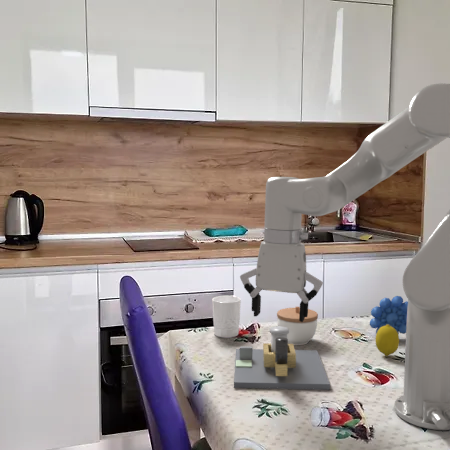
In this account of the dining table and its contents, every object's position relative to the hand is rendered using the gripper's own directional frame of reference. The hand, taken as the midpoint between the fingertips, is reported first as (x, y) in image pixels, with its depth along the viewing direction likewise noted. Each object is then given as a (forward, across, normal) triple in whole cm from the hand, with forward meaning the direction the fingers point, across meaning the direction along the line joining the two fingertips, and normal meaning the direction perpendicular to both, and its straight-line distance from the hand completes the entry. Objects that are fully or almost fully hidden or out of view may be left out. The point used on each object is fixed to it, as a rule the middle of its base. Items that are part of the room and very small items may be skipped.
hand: (279, 317), depth 108 cm
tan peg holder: (+13, 0, -5) cm, 14 cm away
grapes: (+14, -24, -39) cm, 48 cm away
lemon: (+14, -22, -24) cm, 36 cm away
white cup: (+16, +20, -28) cm, 38 cm away
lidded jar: (+15, 0, -28) cm, 32 cm away
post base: (+15, +1, -8) cm, 17 cm away
